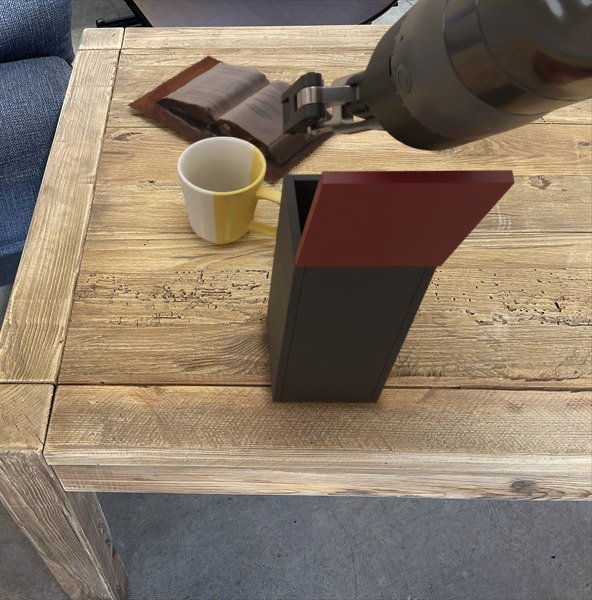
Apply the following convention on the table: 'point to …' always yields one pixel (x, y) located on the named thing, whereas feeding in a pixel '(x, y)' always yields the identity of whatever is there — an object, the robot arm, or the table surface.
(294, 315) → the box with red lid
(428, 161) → the table surface
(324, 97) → the robot arm
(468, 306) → the table surface
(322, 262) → the red lid
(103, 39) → the table surface
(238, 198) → the mug
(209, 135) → the book
